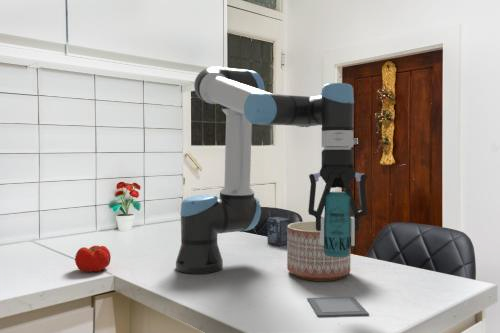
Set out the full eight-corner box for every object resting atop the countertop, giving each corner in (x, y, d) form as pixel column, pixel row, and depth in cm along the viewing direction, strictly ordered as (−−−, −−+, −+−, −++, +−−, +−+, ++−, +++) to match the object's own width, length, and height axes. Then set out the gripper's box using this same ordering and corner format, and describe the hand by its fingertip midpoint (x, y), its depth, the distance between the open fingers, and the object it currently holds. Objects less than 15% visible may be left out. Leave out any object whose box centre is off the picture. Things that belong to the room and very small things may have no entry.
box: (267, 243, 182) (267, 217, 182) (277, 241, 186) (277, 216, 185) (280, 246, 176) (280, 220, 176) (290, 244, 180) (290, 218, 179)
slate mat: (317, 316, 102) (317, 314, 102) (307, 299, 114) (307, 297, 114) (368, 315, 103) (369, 313, 103) (353, 298, 115) (353, 296, 115)
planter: (336, 287, 124) (337, 234, 124) (276, 276, 135) (276, 227, 134) (358, 271, 141) (359, 224, 140) (303, 263, 151) (303, 219, 150)
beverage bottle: (320, 257, 111) (320, 177, 110) (346, 256, 111) (346, 176, 111) (327, 264, 104) (327, 178, 104) (354, 263, 105) (355, 178, 104)
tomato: (77, 276, 135) (77, 252, 135) (73, 268, 145) (73, 245, 144) (114, 272, 140) (113, 248, 140) (107, 264, 149) (107, 242, 149)
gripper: (296, 148, 104) (296, 246, 105) (381, 148, 102) (381, 248, 103) (296, 149, 112) (296, 240, 113) (376, 148, 110) (375, 241, 111)
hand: (337, 244), depth 108 cm, fingers closed on beverage bottle, 6 cm apart
